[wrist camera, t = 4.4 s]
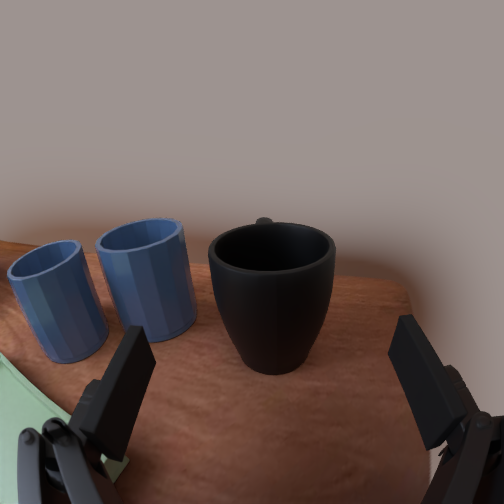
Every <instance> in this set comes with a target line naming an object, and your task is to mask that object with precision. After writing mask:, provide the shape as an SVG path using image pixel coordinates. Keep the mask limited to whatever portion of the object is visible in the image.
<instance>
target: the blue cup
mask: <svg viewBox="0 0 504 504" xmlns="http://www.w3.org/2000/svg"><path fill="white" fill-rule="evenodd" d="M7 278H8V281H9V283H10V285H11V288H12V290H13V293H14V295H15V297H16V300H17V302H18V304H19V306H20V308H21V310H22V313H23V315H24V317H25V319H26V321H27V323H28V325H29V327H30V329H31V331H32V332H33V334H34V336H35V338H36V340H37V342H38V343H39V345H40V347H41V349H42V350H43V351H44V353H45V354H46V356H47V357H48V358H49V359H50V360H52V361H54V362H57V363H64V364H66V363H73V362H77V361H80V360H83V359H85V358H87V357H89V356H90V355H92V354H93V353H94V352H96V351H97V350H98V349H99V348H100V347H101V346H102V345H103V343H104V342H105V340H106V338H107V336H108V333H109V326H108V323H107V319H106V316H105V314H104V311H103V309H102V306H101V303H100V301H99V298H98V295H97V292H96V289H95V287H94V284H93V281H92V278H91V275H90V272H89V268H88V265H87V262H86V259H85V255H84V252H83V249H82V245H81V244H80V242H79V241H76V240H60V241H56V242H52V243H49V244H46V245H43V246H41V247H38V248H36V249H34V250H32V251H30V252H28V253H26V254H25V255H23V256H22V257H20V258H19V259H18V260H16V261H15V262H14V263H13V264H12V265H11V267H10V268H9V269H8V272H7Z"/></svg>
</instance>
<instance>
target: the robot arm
mask: <svg viewBox="0 0 504 504" xmlns="http://www.w3.org/2000/svg"><path fill="white" fill-rule="evenodd" d="M388 355H389V358H390V360H391V362H392V364H393V367H394V369H395V371H396V374H397V376H398V378H399V381H400V383H401V385H402V388H403V390H404V393H405V395H406V397H407V400H408V402H409V405H410V408H411V410H412V413H413V415H414V418H415V420H416V423H417V426H418V429H419V431H420V434H421V437H422V440H423V442H424V445H425V448H426V451H428V450H430V449H433V448H436V447H438V446H440V445H441V444H442V443H443V442H444V441H445V440H446V441H447V444H448V445H447V446H446V447H445V448H444V449H443V450H442V451H441V452H440V453H439V455H438V456H441V455H442V454H443V455H442V458H441V461H440V463H439V465H438V468H437V470H436V472H435V475H434V477H433V479H432V481H431V484H430V486H429V488H428V490H427V492H426V494H425V496H424V498H423V500H422V502H421V504H504V416H496V417H491V416H490V414H488V413H486V412H483V411H480V410H479V408H478V406H477V405H476V403H475V401H474V399H473V397H472V395H471V393H470V392H469V390H468V388H467V387H466V384H465V382H464V381H463V380H462V377H461V375H460V374H459V372H458V371H457V370H456V369H455V368H454V367H452V366H451V365H447V366H443V364H442V362H441V361H440V359H439V357H438V356H437V354H436V352H435V350H434V349H433V347H432V345H431V344H430V342H429V341H428V339H427V337H426V336H425V334H424V333H423V331H422V329H421V328H420V326H419V325H418V323H417V321H416V320H415V318H414V317H413V315H412V314H409V315H402V316H399V319H398V323H397V326H396V330H395V333H394V336H393V339H392V342H391V345H390V349H389V352H388ZM155 365H156V361H155V358H154V356H153V353H152V350H151V348H150V345H149V342H148V340H147V337H146V334H145V331H144V328H143V326H135V325H130V326H129V328H128V330H127V331H126V333H125V335H124V337H123V339H122V341H121V342H120V344H119V346H118V348H117V350H116V352H115V354H114V356H113V358H112V359H111V361H110V363H109V365H108V367H107V369H106V371H105V373H104V375H103V377H102V379H101V380H96V379H93V380H92V381H91V382H90V383H89V384H88V385H87V386H86V388H85V390H84V392H83V394H82V396H81V398H80V400H79V403H78V404H77V406H76V408H75V410H74V412H73V414H72V416H71V418H70V420H69V422H68V424H66V423H65V421H64V420H62V419H61V418H58V417H53V418H50V419H48V420H46V422H45V423H44V424H43V426H42V434H40V433H39V432H38V431H37V430H35V429H34V428H31V427H28V428H25V429H23V430H22V431H21V433H20V434H19V437H18V450H17V489H18V504H124V503H123V501H122V500H121V498H120V496H119V494H118V492H117V490H116V488H115V486H114V484H113V482H112V480H111V478H110V476H109V474H108V472H107V470H106V468H105V466H104V463H103V461H102V460H101V459H100V458H101V455H102V454H103V455H104V456H105V457H106V458H108V459H111V460H114V461H118V462H123V458H124V455H125V452H126V449H127V446H128V443H129V439H130V436H131V433H132V430H133V427H134V424H135V421H136V418H137V415H138V412H139V409H140V406H141V404H142V401H143V398H144V395H145V392H146V389H147V386H148V384H149V381H150V378H151V375H152V373H153V370H154V367H155Z"/></svg>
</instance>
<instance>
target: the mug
mask: <svg viewBox="0 0 504 504" xmlns="http://www.w3.org/2000/svg"><path fill="white" fill-rule="evenodd" d="M335 253H336V247H335V244H334V241H333V239H332V238H331V237H330V236H328V235H327V234H326V233H324V232H323V231H320V230H318V229H315V228H313V227H309V226H305V225H301V224H294V223H282V222H280V223H279V222H276V223H274V222H273V221H272V220H271V219H269V218H265V217H263V218H259V219H257V221H256V224H251V225H246V226H242V227H238V228H235V229H232V230H230V231H227V232H225V233H223V234H221V235H219V236H218V237H217V238H215V240H213V241H212V243H211V244H210V246H209V250H208V258H209V265H210V272H211V279H212V285H213V291H214V296H215V300H216V303H217V306H218V310H219V312H220V315H221V318H222V320H223V323H224V325H225V327H226V329H227V332H228V334H229V336H230V338H231V340H232V342H233V343H234V345H235V347H236V349H237V350H238V352H239V354H240V355H241V358H242V360H243V361H244V363H245V364H246V365H247V366H248V367H250V368H251V369H253V370H254V371H257V372H259V373H263V374H269V375H278V374H284V373H288V372H291V371H293V370H295V369H296V368H298V367H299V366H300V365H301V364H303V363H304V361H305V360H306V358H307V356H308V353H309V351H310V349H311V348H312V346H313V344H314V342H315V340H316V338H317V336H318V334H319V332H320V330H321V327H322V325H323V322H324V319H325V316H326V313H327V310H328V306H329V302H330V298H331V293H332V288H333V279H334V268H335Z"/></svg>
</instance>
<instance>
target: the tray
mask: <svg viewBox="0 0 504 504" xmlns="http://www.w3.org/2000/svg"><path fill="white" fill-rule="evenodd" d="M53 417H58V418H61V419H62V420H64V421H65V423H66V424H68V422H69V420H70V418H71V415H69V414H68V413H67V412H65V411H64V410H63V409H61V408H60V407H59V406H58V405H56V404H55V403H54V402H53V401H51V400H50V399H49V398H48V397H47V396H45V395H44V394H43V393H42V392H41V391H40V390H38V389H37V388H36V387H35V386H34V385H33V384H32V383H31V382H30V381H29V380H27V379H26V378H25V377H24V376H23V375H22V374H21V373H20V372H19V371H18V370H17V369H16V368H15V367H14V366H13V365H12V364H11V363H10V362H9V361H8V360H7V359H6V358H5V357H4V355H3V354H2V353H1V352H0V504H18V489H17V450H18V437H19V434H20V433H21V431H22V430H23V429H25V428H28V427H31V428H34V429H35V430H37V431H38V432H39V433H40V434H42V426H43V424H44V423H45V422H46V420H48V419H50V418H53ZM100 459H101V460H102V461H103V463H104V466H105V468H106V470H107V472H108V474H109V476H110V478H111V480H112V482H113V483H114V482H115V481H116V479H117V478H118V476H119V475H120V473H121V472H122V471H123V469H124V468H125V466H126V465H127V463H128V462H129V461H130V460H129V459H128V458H127V457H126V456H125V455H124V458H123V462H118V461H114V460H111V459H108V458H106V457H105V456H104V455H103V454H102V455H101V458H100Z"/></svg>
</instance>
